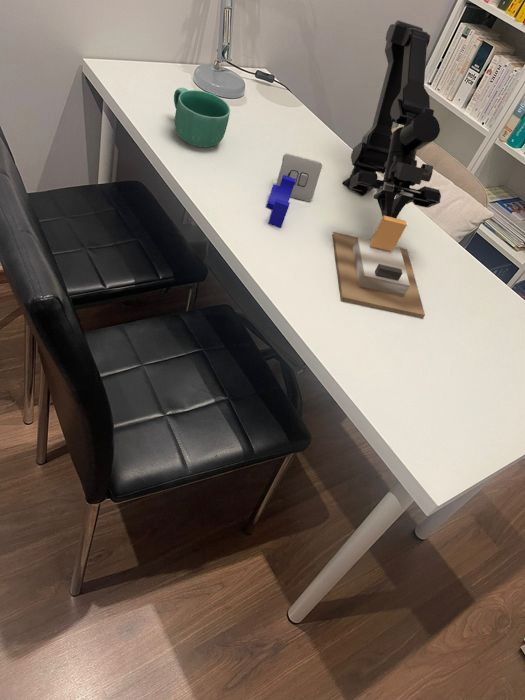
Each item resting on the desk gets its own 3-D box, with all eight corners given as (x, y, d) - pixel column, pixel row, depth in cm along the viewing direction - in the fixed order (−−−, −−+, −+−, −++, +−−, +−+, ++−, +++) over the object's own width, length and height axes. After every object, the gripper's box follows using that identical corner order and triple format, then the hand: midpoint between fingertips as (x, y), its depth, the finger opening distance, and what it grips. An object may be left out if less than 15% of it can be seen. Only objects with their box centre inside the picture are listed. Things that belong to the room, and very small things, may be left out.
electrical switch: (273, 193, 135) (284, 156, 129) (272, 184, 139) (283, 147, 133) (311, 203, 137) (324, 167, 131) (309, 193, 141) (321, 157, 135)
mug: (231, 151, 143) (240, 115, 136) (189, 156, 136) (196, 118, 129) (196, 116, 150) (203, 81, 143) (154, 119, 143) (160, 82, 136)
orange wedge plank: (370, 246, 123) (370, 242, 124) (392, 251, 124) (391, 247, 125) (384, 219, 118) (383, 215, 119) (406, 225, 119) (405, 220, 120)
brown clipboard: (332, 235, 130) (341, 213, 125) (405, 252, 133) (416, 231, 129) (340, 300, 115) (352, 278, 111) (422, 318, 118) (436, 297, 114)
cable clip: (269, 194, 134) (277, 172, 130) (287, 201, 135) (295, 179, 131) (261, 222, 126) (268, 199, 122) (280, 228, 126) (288, 206, 122)
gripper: (375, 133, 112) (360, 211, 112) (461, 156, 116) (446, 233, 116) (355, 150, 123) (341, 221, 123) (434, 171, 127) (421, 240, 127)
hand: (387, 229), depth 122 cm, fingers closed
